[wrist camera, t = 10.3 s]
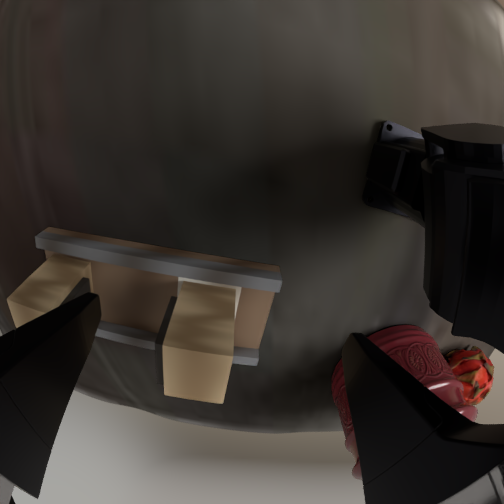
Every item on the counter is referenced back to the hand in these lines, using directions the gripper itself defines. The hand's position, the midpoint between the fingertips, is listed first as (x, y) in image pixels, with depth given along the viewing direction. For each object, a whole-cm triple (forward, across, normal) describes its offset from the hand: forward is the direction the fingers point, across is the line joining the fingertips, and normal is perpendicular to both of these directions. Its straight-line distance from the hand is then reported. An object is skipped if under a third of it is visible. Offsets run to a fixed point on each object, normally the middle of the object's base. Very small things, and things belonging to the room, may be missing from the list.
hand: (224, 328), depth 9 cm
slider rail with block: (+12, +6, +8) cm, 16 cm away
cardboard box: (+11, +1, +8) cm, 13 cm away
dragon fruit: (+12, -32, +14) cm, 37 cm away
